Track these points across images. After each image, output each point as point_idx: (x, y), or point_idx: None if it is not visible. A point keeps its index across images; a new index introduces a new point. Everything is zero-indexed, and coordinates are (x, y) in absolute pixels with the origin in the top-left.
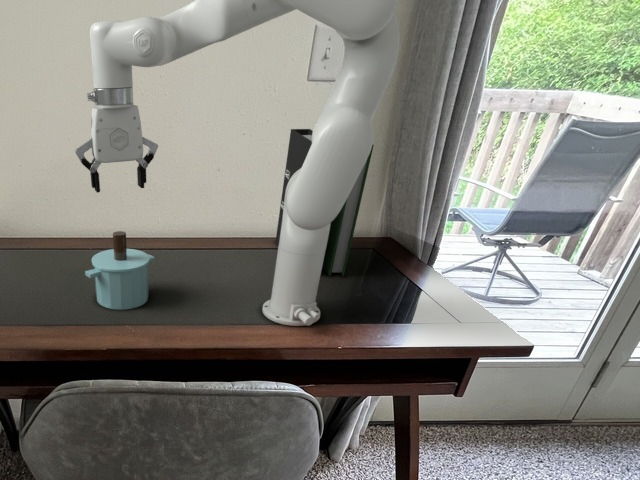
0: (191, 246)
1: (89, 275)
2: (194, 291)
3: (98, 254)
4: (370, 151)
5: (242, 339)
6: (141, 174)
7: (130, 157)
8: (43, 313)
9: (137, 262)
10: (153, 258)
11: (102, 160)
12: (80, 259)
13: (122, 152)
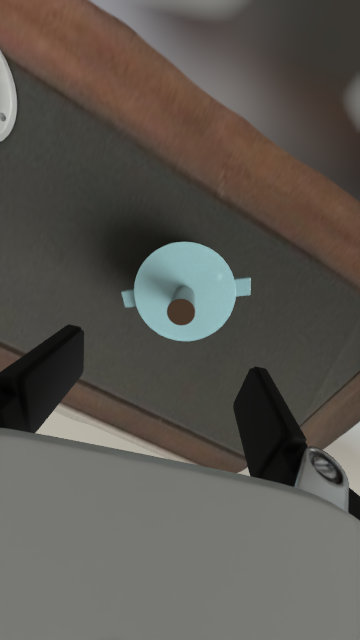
0: None
1: (250, 279)
2: (89, 248)
3: (207, 331)
4: None
5: (83, 35)
6: (40, 359)
7: (18, 463)
8: (295, 291)
9: (165, 263)
10: (124, 290)
11: (341, 516)
12: (183, 401)
13: (79, 588)
